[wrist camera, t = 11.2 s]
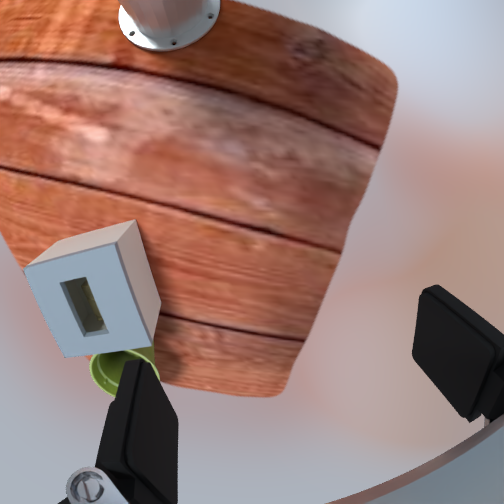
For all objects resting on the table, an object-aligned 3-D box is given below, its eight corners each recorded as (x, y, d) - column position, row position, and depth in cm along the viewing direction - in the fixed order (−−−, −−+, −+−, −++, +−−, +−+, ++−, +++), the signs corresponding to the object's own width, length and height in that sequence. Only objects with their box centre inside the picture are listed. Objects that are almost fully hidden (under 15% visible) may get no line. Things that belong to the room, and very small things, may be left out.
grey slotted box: (58, 240, 36) (23, 268, 27) (135, 219, 37) (114, 244, 28) (87, 316, 40) (64, 357, 31) (161, 302, 41) (151, 345, 32)
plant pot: (123, 299, 40) (107, 334, 32) (177, 335, 43) (173, 374, 35) (95, 340, 42) (79, 376, 34) (145, 371, 45) (138, 410, 37)
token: (93, 269, 37) (80, 286, 33) (105, 265, 37) (94, 281, 33) (108, 302, 39) (98, 321, 35) (120, 298, 39) (111, 317, 35)
